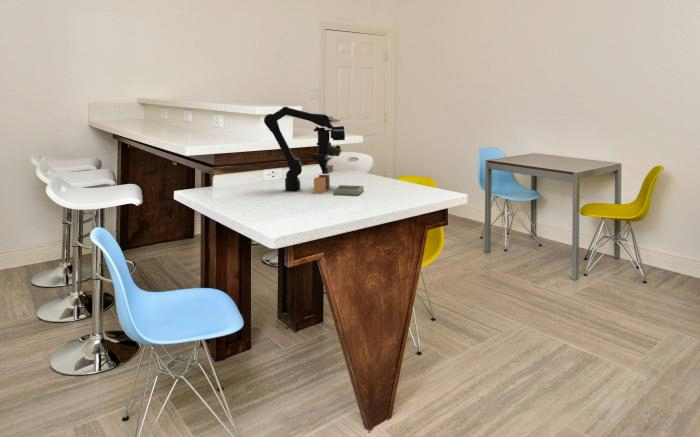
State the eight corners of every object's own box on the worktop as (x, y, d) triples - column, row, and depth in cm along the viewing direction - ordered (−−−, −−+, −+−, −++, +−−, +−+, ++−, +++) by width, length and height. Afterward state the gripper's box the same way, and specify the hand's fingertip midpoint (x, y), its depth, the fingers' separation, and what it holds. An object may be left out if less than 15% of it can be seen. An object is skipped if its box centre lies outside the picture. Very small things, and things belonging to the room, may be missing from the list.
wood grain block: (319, 189, 263) (318, 175, 261) (319, 189, 264) (319, 174, 263) (328, 190, 262) (328, 175, 260) (329, 189, 263) (329, 175, 262)
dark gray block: (322, 173, 263) (321, 167, 262) (327, 171, 273) (327, 165, 272) (327, 174, 262) (327, 167, 262) (333, 171, 272) (332, 165, 271)
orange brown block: (314, 193, 254) (313, 178, 252) (317, 191, 259) (316, 177, 257) (322, 193, 253) (322, 179, 251) (325, 191, 258) (325, 177, 256)
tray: (333, 194, 249) (333, 189, 249) (339, 190, 261) (339, 185, 260) (358, 195, 247) (358, 190, 246) (363, 191, 258) (363, 186, 257)
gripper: (334, 142, 247) (335, 175, 251) (344, 139, 265) (344, 170, 268) (311, 142, 249) (312, 175, 253) (322, 138, 267) (323, 169, 271)
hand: (324, 172), depth 261 cm, fingers closed
